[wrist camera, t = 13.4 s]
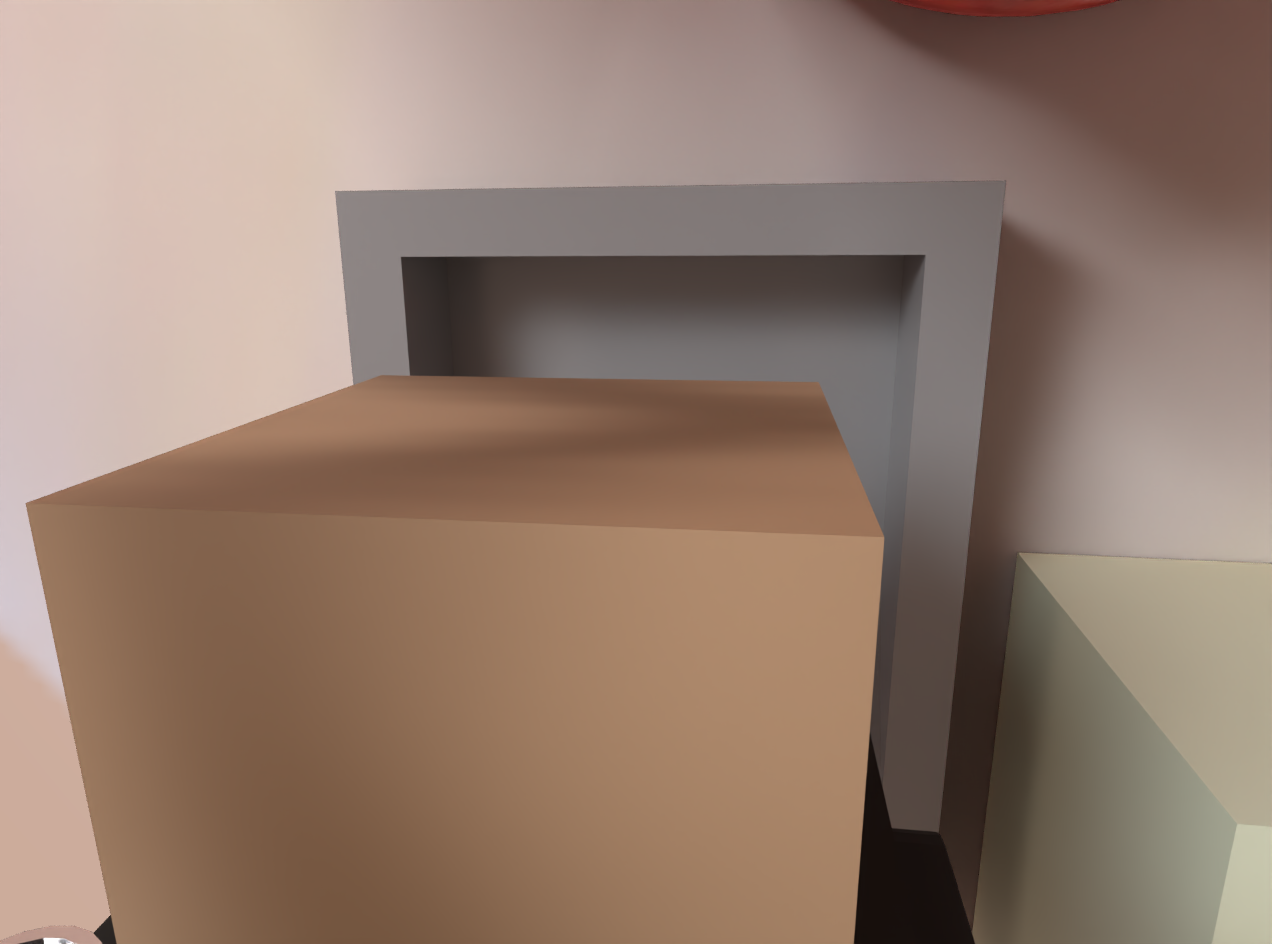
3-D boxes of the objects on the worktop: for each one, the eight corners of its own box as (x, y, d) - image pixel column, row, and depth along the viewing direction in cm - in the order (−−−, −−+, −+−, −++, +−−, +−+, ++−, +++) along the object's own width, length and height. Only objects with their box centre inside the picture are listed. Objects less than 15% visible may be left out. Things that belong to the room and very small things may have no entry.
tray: (961, 192, 14) (1006, 181, 12) (896, 915, 18) (918, 1029, 16) (407, 199, 16) (335, 191, 13) (456, 869, 20) (408, 966, 17)
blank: (818, 381, 9) (883, 537, 4) (782, 1092, 12) (799, 1671, 7) (380, 375, 10) (26, 503, 5) (439, 1048, 12) (241, 1549, 8)
